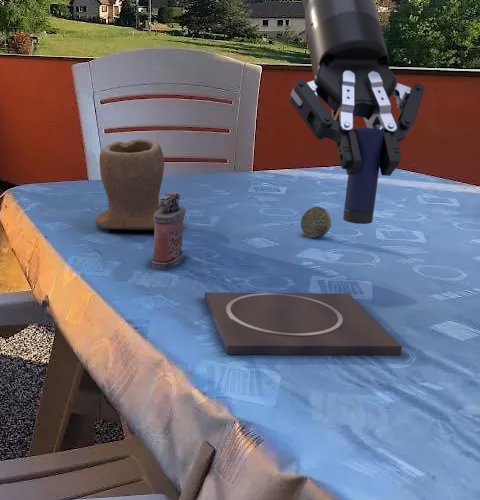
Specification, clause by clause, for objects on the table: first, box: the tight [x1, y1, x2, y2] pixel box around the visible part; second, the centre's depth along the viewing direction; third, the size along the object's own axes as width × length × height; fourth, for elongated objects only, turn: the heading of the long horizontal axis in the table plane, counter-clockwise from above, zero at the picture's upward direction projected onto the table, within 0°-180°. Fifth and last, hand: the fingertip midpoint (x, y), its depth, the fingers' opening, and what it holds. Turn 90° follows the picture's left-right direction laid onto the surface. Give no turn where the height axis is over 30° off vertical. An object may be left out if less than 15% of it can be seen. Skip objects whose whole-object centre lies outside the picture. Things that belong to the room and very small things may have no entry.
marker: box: [342, 127, 384, 225], centre depth 69 cm, size 3×3×9 cm
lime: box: [300, 206, 332, 238], centre depth 117 cm, size 4×5×5 cm
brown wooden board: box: [203, 291, 403, 356], centre depth 80 cm, size 18×16×1 cm
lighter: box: [151, 191, 186, 270], centre depth 101 cm, size 8×3×10 cm, turn 159°
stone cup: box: [95, 138, 186, 231], centre depth 117 cm, size 15×12×15 cm
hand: (372, 169), depth 67 cm, fingers closed on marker, 2 cm apart
